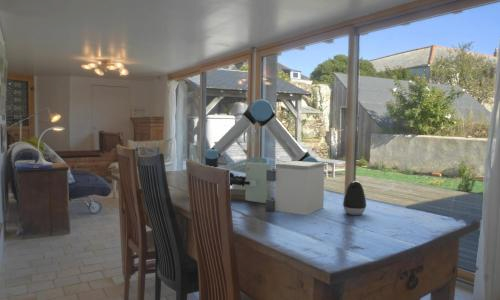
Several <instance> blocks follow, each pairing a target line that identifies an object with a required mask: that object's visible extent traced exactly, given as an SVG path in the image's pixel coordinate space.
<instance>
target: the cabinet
mask: <svg viewBox="0 0 500 300" xmlns="http://www.w3.org/2000/svg"><path fill="white" fill-rule="evenodd" d="M318 162H319V161H318ZM318 162H304V161H285V162H279V163H275V169H276V172H275V181H274V184H275V186H274V198H275V211H274V212H281V213H288V214H295V215H301V216H308V215H310V214H313V213H315V212H317V211H319V210H321V209H324V197H325V196H324V192H325V191H324V189H325V162H319V163H318Z"/></svg>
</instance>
